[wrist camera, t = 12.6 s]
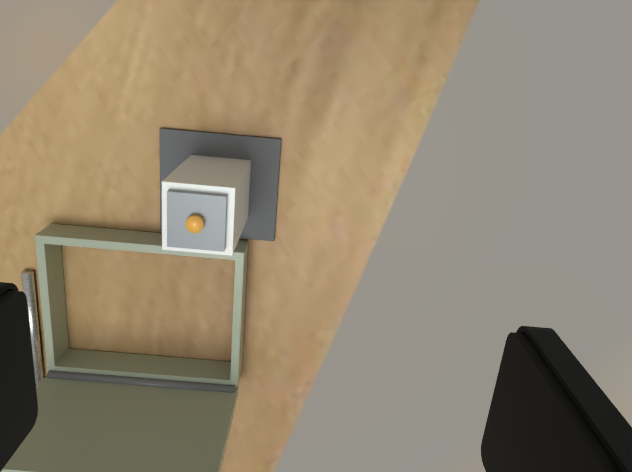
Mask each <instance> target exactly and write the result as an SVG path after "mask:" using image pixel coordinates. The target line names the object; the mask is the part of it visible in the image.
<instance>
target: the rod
mask: <svg viewBox="0 0 632 472" xmlns="http://www.w3.org/2000/svg"><path fill="white" fill-rule="evenodd" d="M21 277H22V286H23V292H24V293H25V295H26V297H27V304H28V314H29V323H30V333H31V343H32V353H33V362H34V372H35V382H36V387H38V385H39V384H40V383H41V382H42V380H43V379H44V375H43V365H42V354H41V344H40V333H39V323H38V312H37V302H36V292H35V281H34V271H33V270H25V271H22V272H21Z"/></svg>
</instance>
